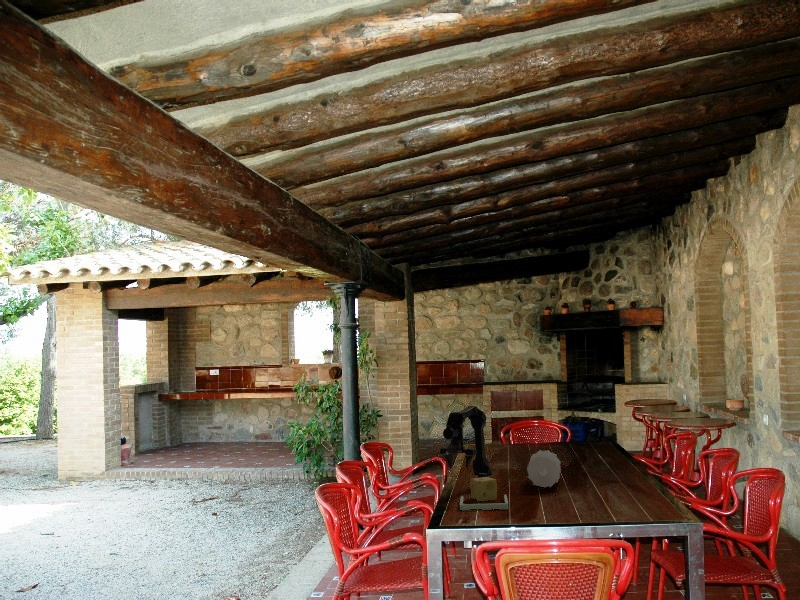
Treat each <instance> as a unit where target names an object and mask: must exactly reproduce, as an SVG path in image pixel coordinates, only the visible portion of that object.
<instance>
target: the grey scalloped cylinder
mask: <svg viewBox="0 0 800 600" xmlns="http://www.w3.org/2000/svg"><path fill="white" fill-rule="evenodd" d="M529 459H530V460H529V462H528V464H527V467H526V471H527V474H528V476H527V478H528V479H529V480H530V481H531V482H532V485H533V486H538V487H544V488H547V487H549V488H552V487H553V485H555V484H556V483H558V482H559V479H561V476H560V475H561V474H560V473H561V472H562V469H561V464H562V462H561V461H560V459H559V458H558V455H557V454H555V453H553V452H552V451H550V449H549V450H541V449H540V450H538V451H537V452H535V453H532V455H531V456H530V458H529Z"/></svg>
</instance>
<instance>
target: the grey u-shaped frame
mask: <svg viewBox="0 0 800 600" xmlns="http://www.w3.org/2000/svg"><path fill="white" fill-rule="evenodd" d="M507 495H508V494H504V497H503V499H504V503H503V502H502V503H501V502H500V503H499V502H498V503H497V502H496V503H470V504H466V503H463V502H465V501H464V495H461V496H460V501H459V511H460V510H462V511H471V510H470V509H482V510H481V511H488V510H489V511H491V510H492V509H493V510H494V509H499V510H509V501H508V496H507Z"/></svg>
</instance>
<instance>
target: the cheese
mask: <svg viewBox="0 0 800 600" xmlns="http://www.w3.org/2000/svg"><path fill="white" fill-rule="evenodd" d="M469 481H470V483H469V484H470V495H471V499H473V500H475V499H476V500H477V501H476V502H478V501H482V502H487V501H488V500H489V501H496V500H497V495H498V494H497V493H498V484H497V479H496V478H492V477H490V476H489V477H481V478H478V477H475V478H474V477H473V478H470V480H469ZM489 501H488V502H489Z"/></svg>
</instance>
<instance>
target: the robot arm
mask: <svg viewBox="0 0 800 600" xmlns="http://www.w3.org/2000/svg"><path fill="white" fill-rule="evenodd" d="M467 418H468V420H469V421H470V426H471V427H472V429H473V430H474V431H473V432H474V445H475V446H474V447H468V448H466V447H465V445H464V441H465V438H464V429H463V428H464V427H465V426H464V423H465V422H466V419H467ZM486 425H487V415H486V414H485V412H484V411H482V410H481V409H479V407H477V406H476V405H468V406H467V407H464V408H463V409H462V410H460V411H452V412H450V413H449V415H448V417H447V421H446V424H445V429H443V431H442V436H443V437H444V438H445V439H446V440H450V443H449V444H447V446H445V447H441V448H440V449H439V454H440V455H442V457H443V456H444V457H445V460H446V461H447V463H448V467H449V468H450V469H452V468H453V467H452V466H453V455H456V454H465V455H464V458H465V469H467V470H468V469H469V466H470V463H471V461H472V470H473V475H474V476H477V478H481V477H489V478H490V477H491V476H493V469H492V468H491V466H490V465H489V460H488V459H487V457H486V450H485V437H484V435H485V433H484V428H485V427H486ZM445 439H444V440H445ZM474 456H475V457H474ZM473 457H474V460H472V459H473Z"/></svg>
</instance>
